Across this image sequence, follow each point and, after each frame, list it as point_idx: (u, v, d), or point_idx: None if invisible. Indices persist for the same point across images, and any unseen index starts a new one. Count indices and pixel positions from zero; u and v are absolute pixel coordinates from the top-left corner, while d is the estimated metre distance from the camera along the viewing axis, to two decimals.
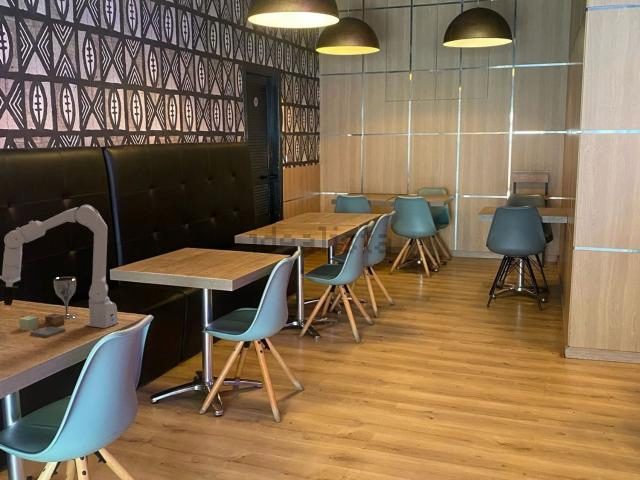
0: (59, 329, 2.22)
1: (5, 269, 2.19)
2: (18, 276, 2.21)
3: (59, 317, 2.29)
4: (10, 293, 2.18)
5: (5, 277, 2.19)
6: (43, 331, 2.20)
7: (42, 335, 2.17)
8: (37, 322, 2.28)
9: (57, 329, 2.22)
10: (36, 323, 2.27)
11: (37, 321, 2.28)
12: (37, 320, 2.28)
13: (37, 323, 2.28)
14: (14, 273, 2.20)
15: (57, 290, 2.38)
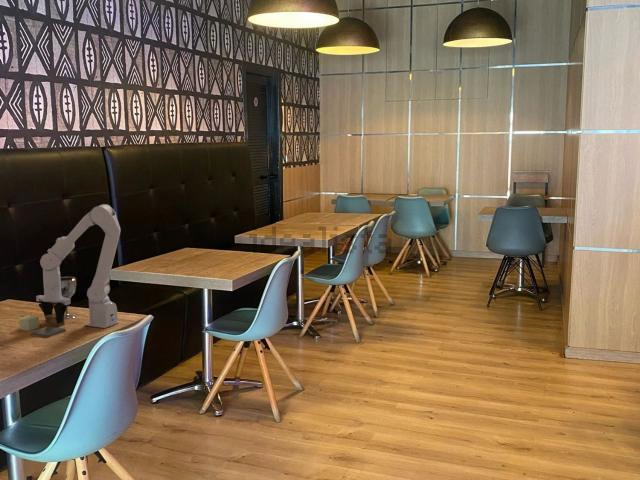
0: (59, 329, 2.22)
1: (53, 291, 2.26)
2: None
3: None
4: (61, 311, 2.29)
5: (54, 298, 2.27)
6: (43, 331, 2.20)
7: (42, 335, 2.17)
8: (37, 322, 2.28)
9: (57, 329, 2.22)
10: (36, 323, 2.27)
11: (37, 321, 2.28)
12: (37, 320, 2.28)
13: (37, 323, 2.28)
14: (60, 291, 2.29)
15: None
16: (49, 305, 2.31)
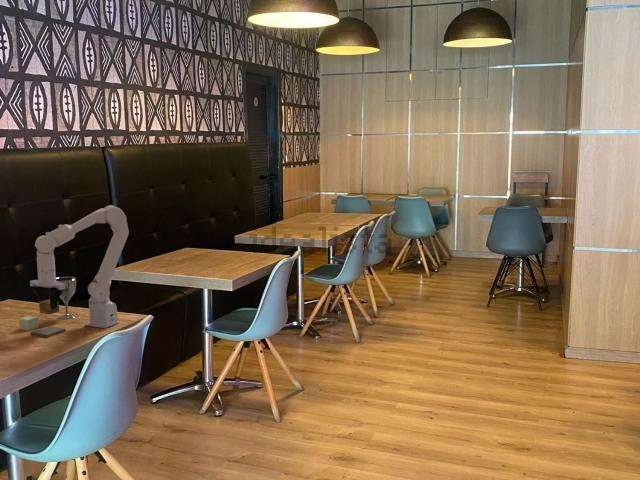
0: (59, 329, 2.22)
1: (47, 275, 2.19)
2: None
3: None
4: (55, 296, 2.22)
5: (48, 283, 2.19)
6: (43, 331, 2.20)
7: (42, 335, 2.17)
8: (37, 322, 2.28)
9: (57, 329, 2.22)
10: (36, 323, 2.27)
11: (37, 321, 2.28)
12: (37, 320, 2.28)
13: (37, 323, 2.28)
14: (55, 276, 2.22)
15: None
16: (43, 290, 2.24)
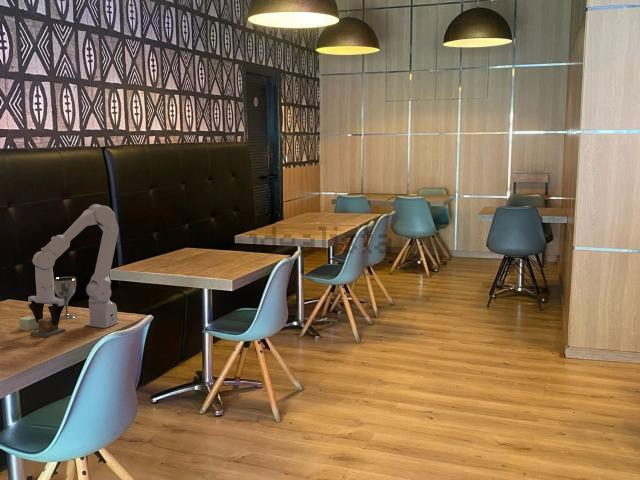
0: (59, 329, 2.22)
1: (45, 291, 2.17)
2: None
3: None
4: (56, 312, 2.19)
5: (47, 299, 2.17)
6: None
7: (42, 335, 2.17)
8: None
9: None
10: (36, 323, 2.27)
11: None
12: None
13: (37, 323, 2.28)
14: (53, 292, 2.19)
15: (57, 290, 2.38)
16: (39, 306, 2.22)
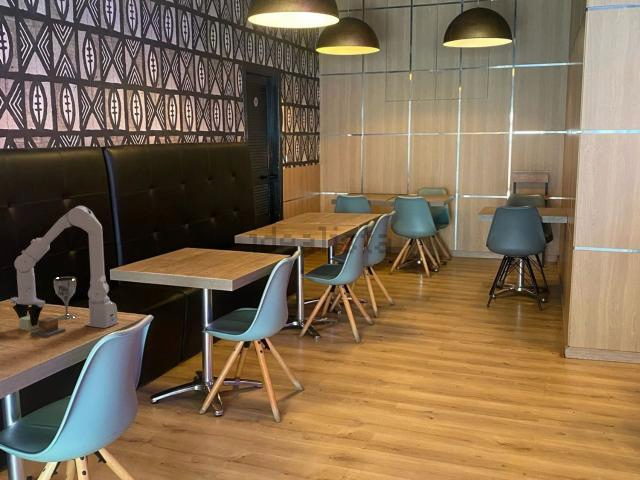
0: (59, 329, 2.22)
1: (27, 293, 2.23)
2: None
3: (53, 321, 2.20)
4: (35, 313, 2.26)
5: (28, 300, 2.23)
6: None
7: (42, 335, 2.17)
8: None
9: None
10: None
11: None
12: None
13: None
14: (35, 294, 2.26)
15: (57, 290, 2.38)
16: (23, 307, 2.28)
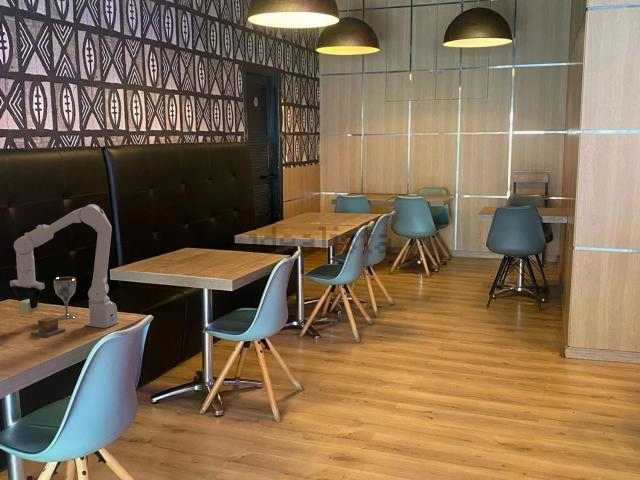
0: (59, 329, 2.22)
1: (26, 275, 2.22)
2: None
3: (53, 321, 2.20)
4: (35, 296, 2.25)
5: (28, 282, 2.22)
6: None
7: (42, 335, 2.17)
8: None
9: None
10: None
11: None
12: (37, 304, 2.27)
13: None
14: (34, 276, 2.25)
15: (57, 290, 2.38)
16: (23, 290, 2.26)
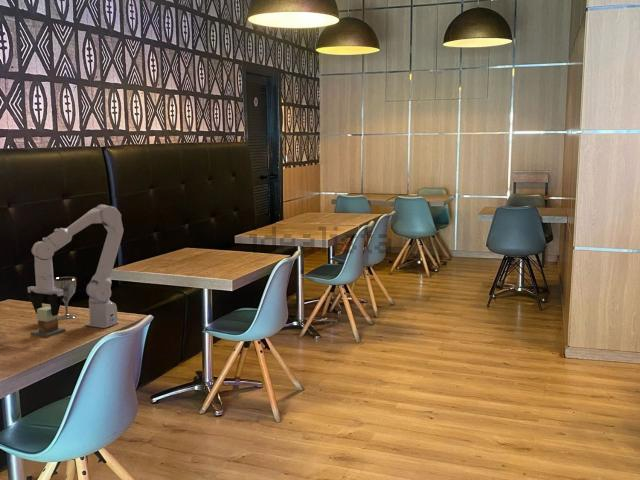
0: (59, 329, 2.22)
1: (45, 281, 2.16)
2: None
3: (53, 321, 2.20)
4: (56, 303, 2.18)
5: (46, 289, 2.17)
6: None
7: (42, 335, 2.17)
8: None
9: None
10: None
11: None
12: None
13: None
14: (53, 282, 2.19)
15: None
16: (38, 296, 2.21)
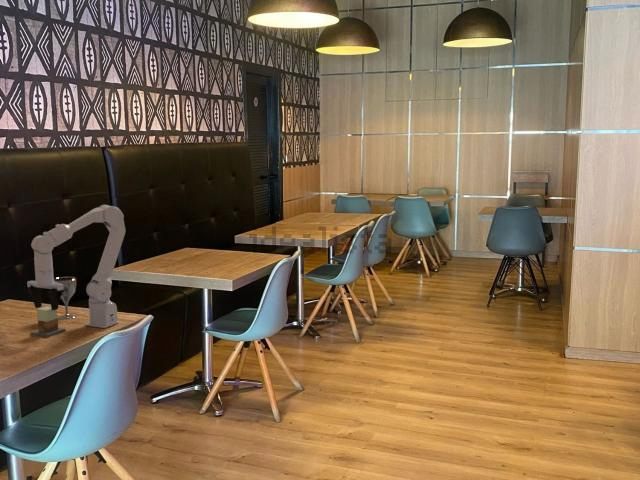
0: (59, 329, 2.22)
1: (44, 275, 2.16)
2: None
3: (53, 321, 2.20)
4: (56, 297, 2.18)
5: (46, 283, 2.16)
6: None
7: (42, 335, 2.17)
8: (55, 313, 2.21)
9: None
10: (54, 314, 2.21)
11: (55, 312, 2.21)
12: (55, 311, 2.21)
13: (55, 314, 2.21)
14: (52, 277, 2.19)
15: None
16: (38, 290, 2.21)
